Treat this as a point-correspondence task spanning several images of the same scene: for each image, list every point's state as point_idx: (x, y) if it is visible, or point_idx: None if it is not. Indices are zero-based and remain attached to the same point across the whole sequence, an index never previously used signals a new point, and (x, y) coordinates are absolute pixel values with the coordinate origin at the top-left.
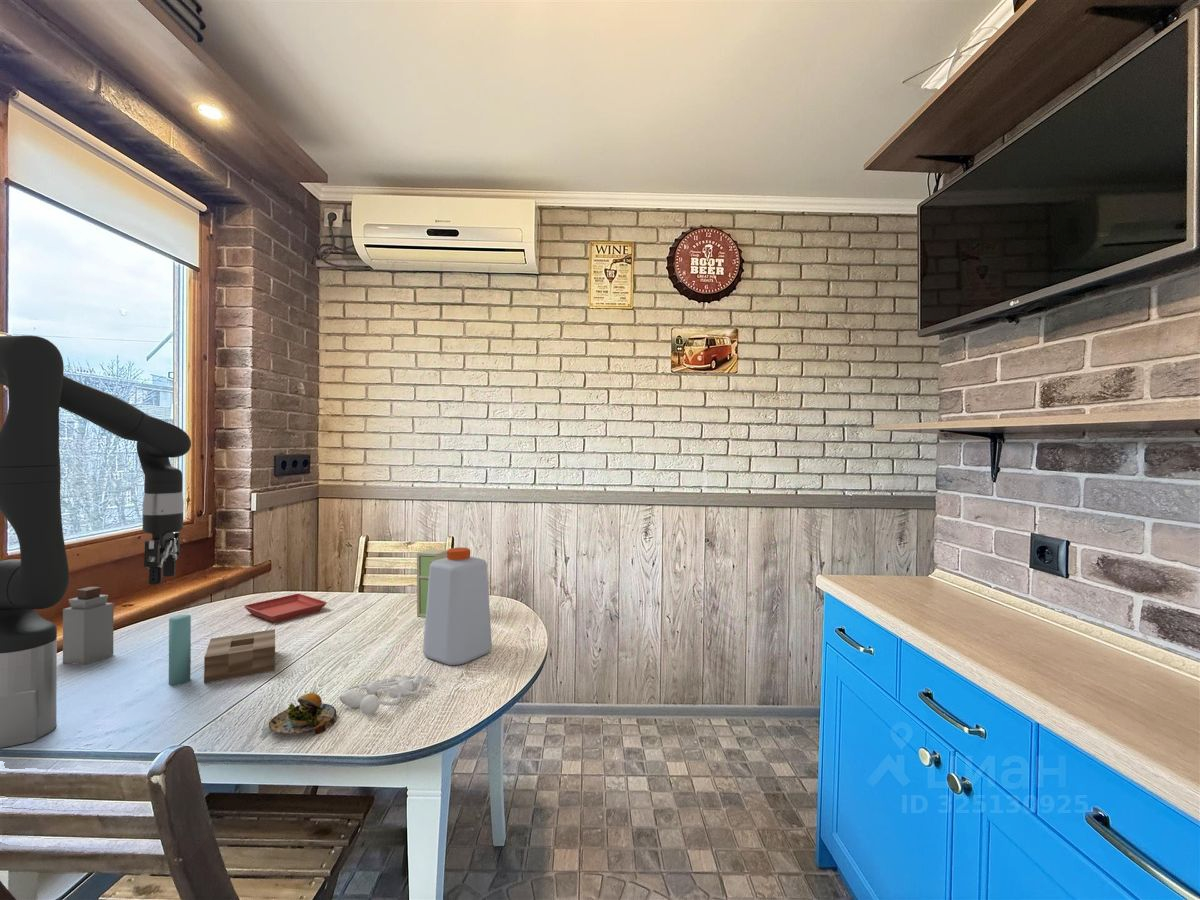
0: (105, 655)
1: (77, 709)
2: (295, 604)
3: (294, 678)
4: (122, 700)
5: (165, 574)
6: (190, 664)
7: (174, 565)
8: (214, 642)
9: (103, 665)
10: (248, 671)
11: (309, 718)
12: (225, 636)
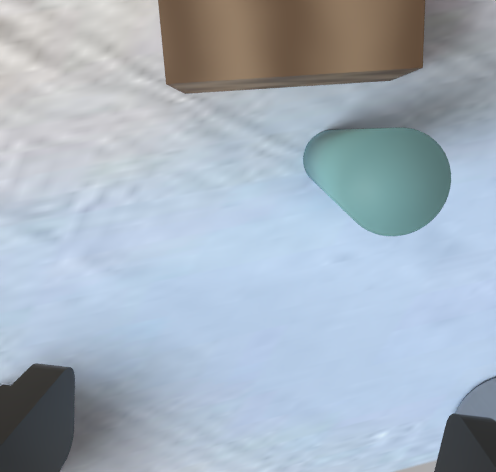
0: None
1: (410, 361)
2: None
3: None
4: (405, 277)
5: (60, 447)
6: (340, 129)
7: (2, 444)
8: (233, 58)
9: (83, 388)
10: None
11: None
12: (162, 23)
